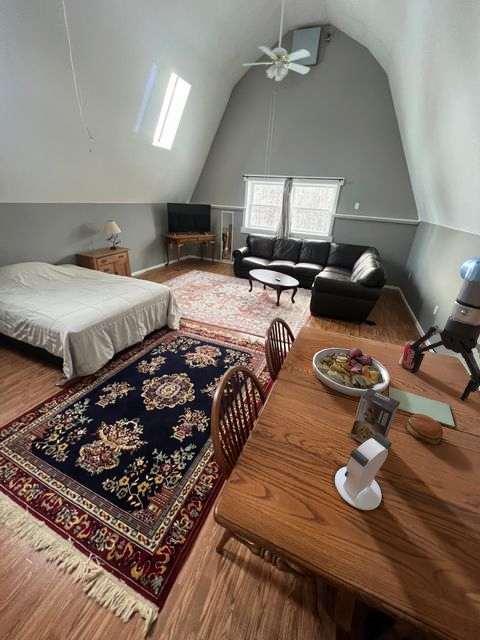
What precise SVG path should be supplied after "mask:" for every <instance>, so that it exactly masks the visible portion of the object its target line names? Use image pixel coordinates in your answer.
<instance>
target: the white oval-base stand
mask: <svg viewBox="0 0 480 640" xmlns="http://www.w3.org/2000/svg"><path fill="white" fill-rule="evenodd" d="M392 444H393V442H391V440H389V439H388V438H387V439H386V438H385V437H383V436H382V435H381V434H379V433H377V434H376V435H375V436H374V438H372V439H369V440H367V441H366V442H364V443H361V444H360V445H359V446H358V447H357V448H353V449H352V450H351V452H350V454H349V456H350V457H349V458H348V460H347V463H346V464H347V465H346V466H343V467H341V468H340V469H338V470H337V471H336V473H335V477H334V484H335V488H336V491H337V492H338V494H339V495H340V497H341V499H343V500H344V502H346V503H348V504H349V505H350V506H352V507H354V508H356V509H359V510H362V511H372V510H375V509H376V508H378V507H379V506H380V504H381V503H382V502H381V501H382V490H381V488H380V486H379V484H378V482H377V481H376V480H375V478H376V475H377V473H378V471H379V470H381V468H382V467H383V465H384V463H385V462H386V460H387V458H388V454H389V449H390V448H391V447H392Z"/></svg>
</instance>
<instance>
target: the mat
mask: <svg viewBox="0 0 480 640" xmlns="http://www.w3.org/2000/svg"><path fill="white" fill-rule="evenodd" d="M388 397H391V398H393V399H395V400H397V401H399V402H400V404H399V407H398V409H397V410H400V411H403V412H406V413H409V414H412V415H415V414H424V415H427V416H429V417H431V418H433V419H434V420H436V421H437V422H438V423H439V424H443V425H445V426H448V427H451V428H455V427H456V425H455V421H454V417H453V415H452V411H451V407H450V405H449V404H448V403H445V402H442V401H438V400H435V399H432V398H428V397H424V396H423V395H422V396H421V395H418V394H416V393H412V392H408V391H406V390H402V389H398V388H395V387H391V386H389V387H388Z"/></svg>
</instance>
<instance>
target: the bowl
mask: <svg viewBox="0 0 480 640" xmlns="http://www.w3.org/2000/svg"><path fill="white" fill-rule="evenodd" d="M312 359H313V360H312V369H313V372H314V373H315V375H316V377H317V378H318V379H319V380H320V381H321V382H322V383H323V384H324V385H325V386H327V387H328V388H330V389H332V390H334V391H336V392H338V393H341V394H344V395H347V396H351V397H360V398H361V396H362V395H363V394H364V393H365V392H366V391H367V390H368V389H369V388H372V389H374V390H376V391H378V392H380V393H382V392H384V391H385V390H386V389H387V388H388V386H389V383H390V380H391V377H390V376H391V375H390V373H389V371H388V369H387V368H386V367H385V366H384V365H383V364H382V363H381V362H380V361H378V360H376V359H375V358H373V357H372V356H371V355H369V354H365V353H363V351H362V350H361V349H360V348H358V347H357V348H356V347H354V348H352V349H348V348H340V347H331V348H324V349H321V350H319V351H318V352H316V353H315V355H314V356H313V358H312Z"/></svg>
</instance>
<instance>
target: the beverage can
mask: <svg viewBox="0 0 480 640" xmlns="http://www.w3.org/2000/svg"><path fill="white" fill-rule="evenodd" d="M416 341H417V340H408V341H407V342H406V343H405V345H404V348H403V350H402V353H401V355H400V359H399V361H398V363H399V365H400V366H401V367H403V368H405V369H412V368H413V366H414V362H412V359H413V357H414V354H415V352H414V351H413V350H412V349H410V346H411V345H412V344H414V343H415V342H416ZM419 348H423V347H422V344H421V345H420V346H419Z"/></svg>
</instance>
